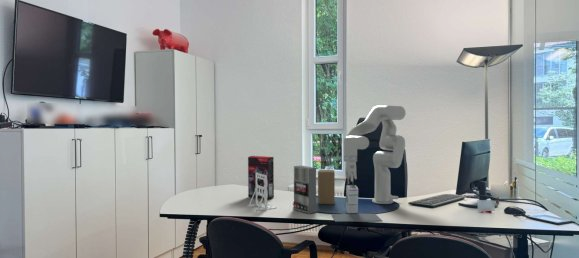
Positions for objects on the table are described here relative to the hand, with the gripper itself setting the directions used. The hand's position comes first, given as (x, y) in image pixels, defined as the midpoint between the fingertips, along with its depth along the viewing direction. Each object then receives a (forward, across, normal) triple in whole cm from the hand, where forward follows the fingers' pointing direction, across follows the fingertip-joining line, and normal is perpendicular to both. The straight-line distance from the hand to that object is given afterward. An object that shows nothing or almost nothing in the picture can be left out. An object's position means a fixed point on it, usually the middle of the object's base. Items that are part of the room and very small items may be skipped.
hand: (350, 191), depth 224 cm
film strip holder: (+12, +11, +50) cm, 52 cm away
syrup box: (+11, -2, 0) cm, 11 cm away
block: (+12, +21, +11) cm, 27 cm away
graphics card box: (+12, +39, +52) cm, 66 cm away
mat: (+11, -16, 0) cm, 19 cm away
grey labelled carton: (+12, +1, +26) cm, 28 cm away
